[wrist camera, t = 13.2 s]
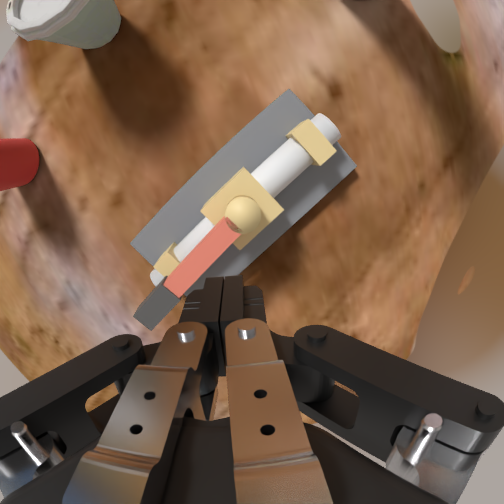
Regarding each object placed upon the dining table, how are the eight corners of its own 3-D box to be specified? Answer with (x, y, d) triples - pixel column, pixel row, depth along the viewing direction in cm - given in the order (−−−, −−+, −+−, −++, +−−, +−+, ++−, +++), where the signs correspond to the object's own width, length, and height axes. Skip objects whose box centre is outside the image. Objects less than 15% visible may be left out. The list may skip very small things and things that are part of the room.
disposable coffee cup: (137, -11, 27) (98, -70, 12) (138, 53, 30) (88, 5, 16) (67, 13, 27) (10, -26, 12) (65, 77, 30) (-5, 52, 16)
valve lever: (242, 188, 29) (242, 190, 26) (266, 211, 30) (269, 215, 27) (136, 303, 32) (130, 313, 29) (158, 321, 33) (154, 333, 30)
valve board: (286, 91, 33) (299, 76, 26) (352, 165, 36) (377, 168, 29) (133, 240, 37) (113, 258, 30) (201, 303, 40) (195, 332, 33)
